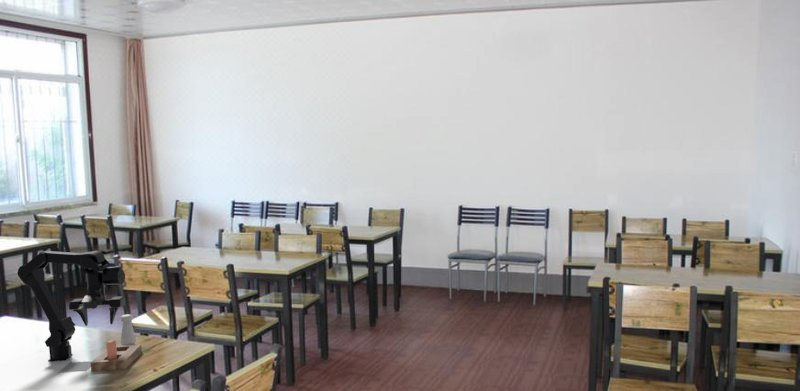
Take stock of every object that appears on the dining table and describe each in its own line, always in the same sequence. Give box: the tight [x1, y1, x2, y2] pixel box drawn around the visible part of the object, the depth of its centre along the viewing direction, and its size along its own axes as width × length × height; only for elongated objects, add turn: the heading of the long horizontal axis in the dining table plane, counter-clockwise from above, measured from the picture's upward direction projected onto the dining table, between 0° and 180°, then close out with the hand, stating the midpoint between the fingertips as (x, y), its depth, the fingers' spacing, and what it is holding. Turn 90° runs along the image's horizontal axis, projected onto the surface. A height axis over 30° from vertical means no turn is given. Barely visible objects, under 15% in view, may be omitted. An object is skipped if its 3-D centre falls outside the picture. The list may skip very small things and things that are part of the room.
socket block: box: [90, 343, 143, 372], centre depth 231 cm, size 12×18×4 cm, turn 5°
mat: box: [57, 360, 93, 373], centre depth 227 cm, size 10×10×1 cm
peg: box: [105, 340, 117, 360], centre depth 226 cm, size 3×3×9 cm
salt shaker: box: [119, 313, 137, 345], centre depth 248 cm, size 6×6×13 cm
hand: (99, 324), depth 235 cm, fingers open, 9 cm apart
